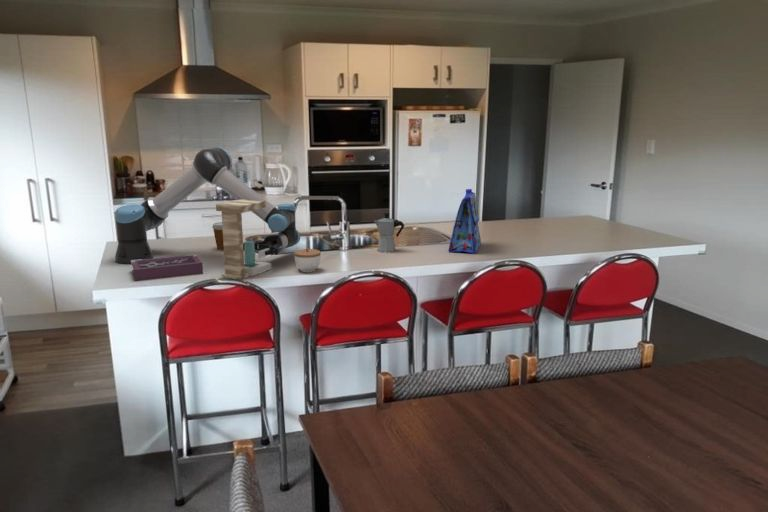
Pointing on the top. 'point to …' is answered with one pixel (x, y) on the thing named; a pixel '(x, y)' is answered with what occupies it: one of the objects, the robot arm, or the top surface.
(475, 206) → the lunch bag
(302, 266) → the lidded jar
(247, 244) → the peg
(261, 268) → the socket
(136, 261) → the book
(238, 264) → the wooden pedestal
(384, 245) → the coffee maker
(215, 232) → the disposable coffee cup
